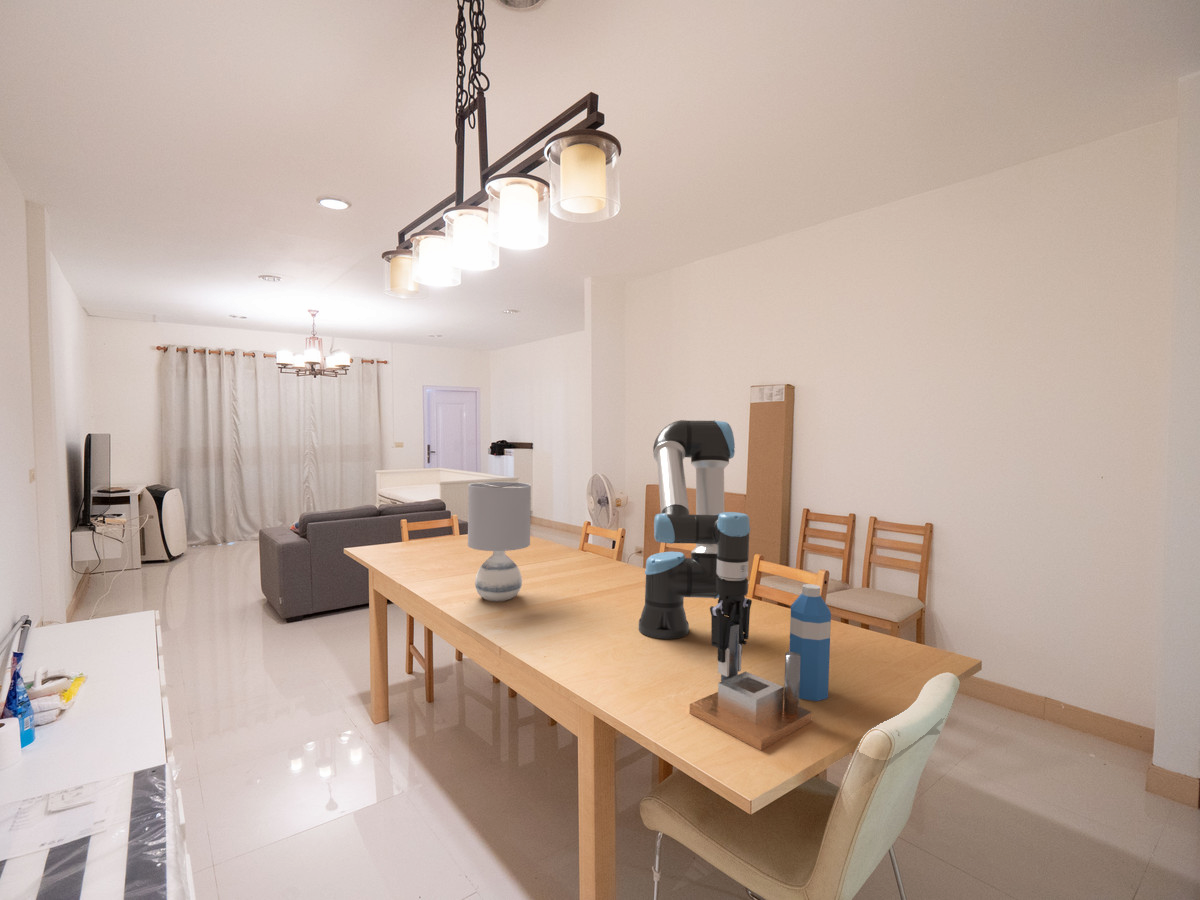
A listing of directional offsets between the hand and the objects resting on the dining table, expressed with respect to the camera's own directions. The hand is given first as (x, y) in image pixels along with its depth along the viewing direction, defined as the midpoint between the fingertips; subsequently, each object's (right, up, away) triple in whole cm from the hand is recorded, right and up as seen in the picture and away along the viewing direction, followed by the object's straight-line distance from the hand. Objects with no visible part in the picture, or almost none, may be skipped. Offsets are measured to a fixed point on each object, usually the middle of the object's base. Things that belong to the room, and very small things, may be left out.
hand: (729, 671), depth 139 cm
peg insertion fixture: (0, -3, -18) cm, 18 cm away
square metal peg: (0, -2, 0) cm, 2 cm away
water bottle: (+17, -3, -5) cm, 18 cm away
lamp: (-68, +1, +64) cm, 93 cm away
